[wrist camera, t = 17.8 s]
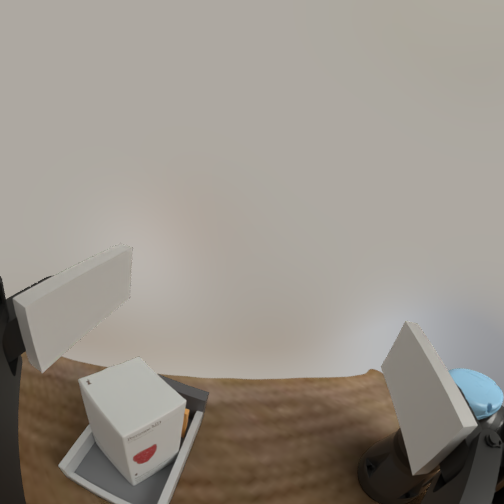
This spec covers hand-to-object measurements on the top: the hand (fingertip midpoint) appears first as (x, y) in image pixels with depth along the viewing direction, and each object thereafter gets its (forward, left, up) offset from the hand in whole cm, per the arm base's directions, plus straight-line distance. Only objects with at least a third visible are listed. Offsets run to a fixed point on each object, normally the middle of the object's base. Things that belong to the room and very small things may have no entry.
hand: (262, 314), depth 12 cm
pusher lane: (+13, +2, -33) cm, 36 cm away
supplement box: (+12, +3, -33) cm, 35 cm away
